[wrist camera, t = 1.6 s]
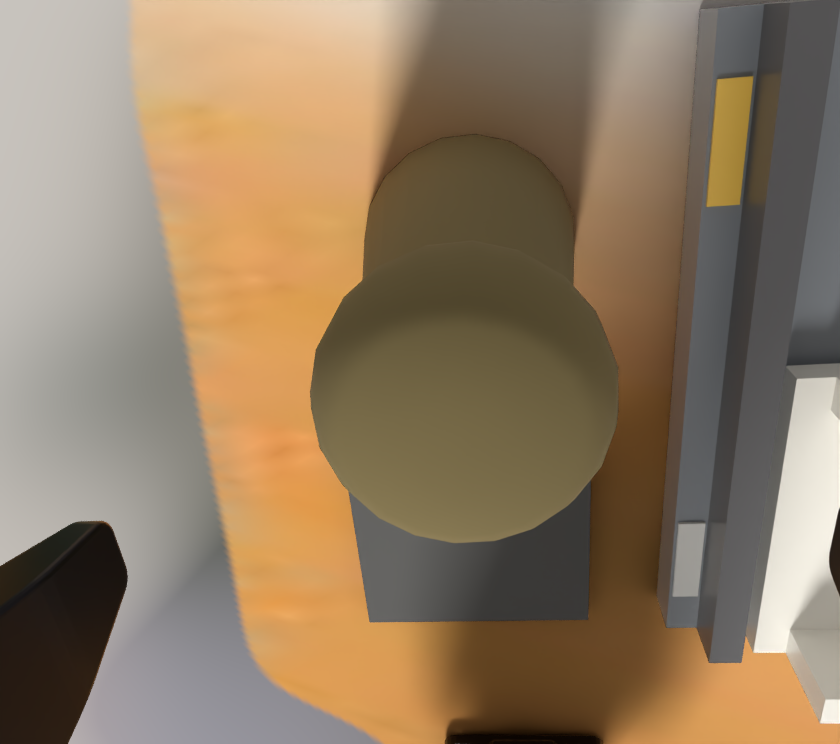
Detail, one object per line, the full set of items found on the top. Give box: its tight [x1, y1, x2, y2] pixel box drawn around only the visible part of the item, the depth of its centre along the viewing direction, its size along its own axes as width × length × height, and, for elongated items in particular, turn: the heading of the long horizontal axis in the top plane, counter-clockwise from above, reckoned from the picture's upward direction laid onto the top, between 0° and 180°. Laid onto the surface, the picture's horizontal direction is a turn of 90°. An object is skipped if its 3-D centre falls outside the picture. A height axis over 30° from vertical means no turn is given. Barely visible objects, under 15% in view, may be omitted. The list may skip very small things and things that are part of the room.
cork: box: [310, 134, 618, 543], centre depth 16 cm, size 6×6×11 cm
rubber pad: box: [349, 480, 591, 622], centre depth 25 cm, size 8×8×1 cm
